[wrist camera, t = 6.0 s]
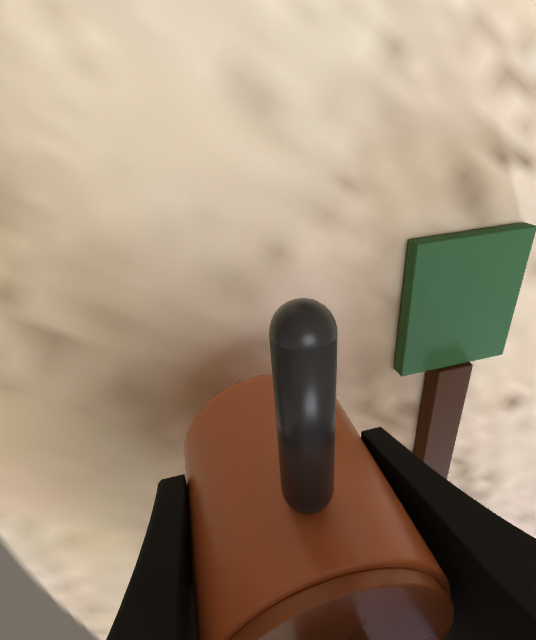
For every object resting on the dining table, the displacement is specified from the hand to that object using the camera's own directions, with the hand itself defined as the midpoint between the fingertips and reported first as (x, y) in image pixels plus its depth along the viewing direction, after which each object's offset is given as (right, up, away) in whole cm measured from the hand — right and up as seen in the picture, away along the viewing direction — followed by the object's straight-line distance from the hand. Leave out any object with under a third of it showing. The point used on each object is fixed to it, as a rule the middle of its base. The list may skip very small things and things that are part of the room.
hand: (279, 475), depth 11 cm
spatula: (+7, +2, +6) cm, 10 cm away
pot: (-1, +3, 0) cm, 3 cm away
